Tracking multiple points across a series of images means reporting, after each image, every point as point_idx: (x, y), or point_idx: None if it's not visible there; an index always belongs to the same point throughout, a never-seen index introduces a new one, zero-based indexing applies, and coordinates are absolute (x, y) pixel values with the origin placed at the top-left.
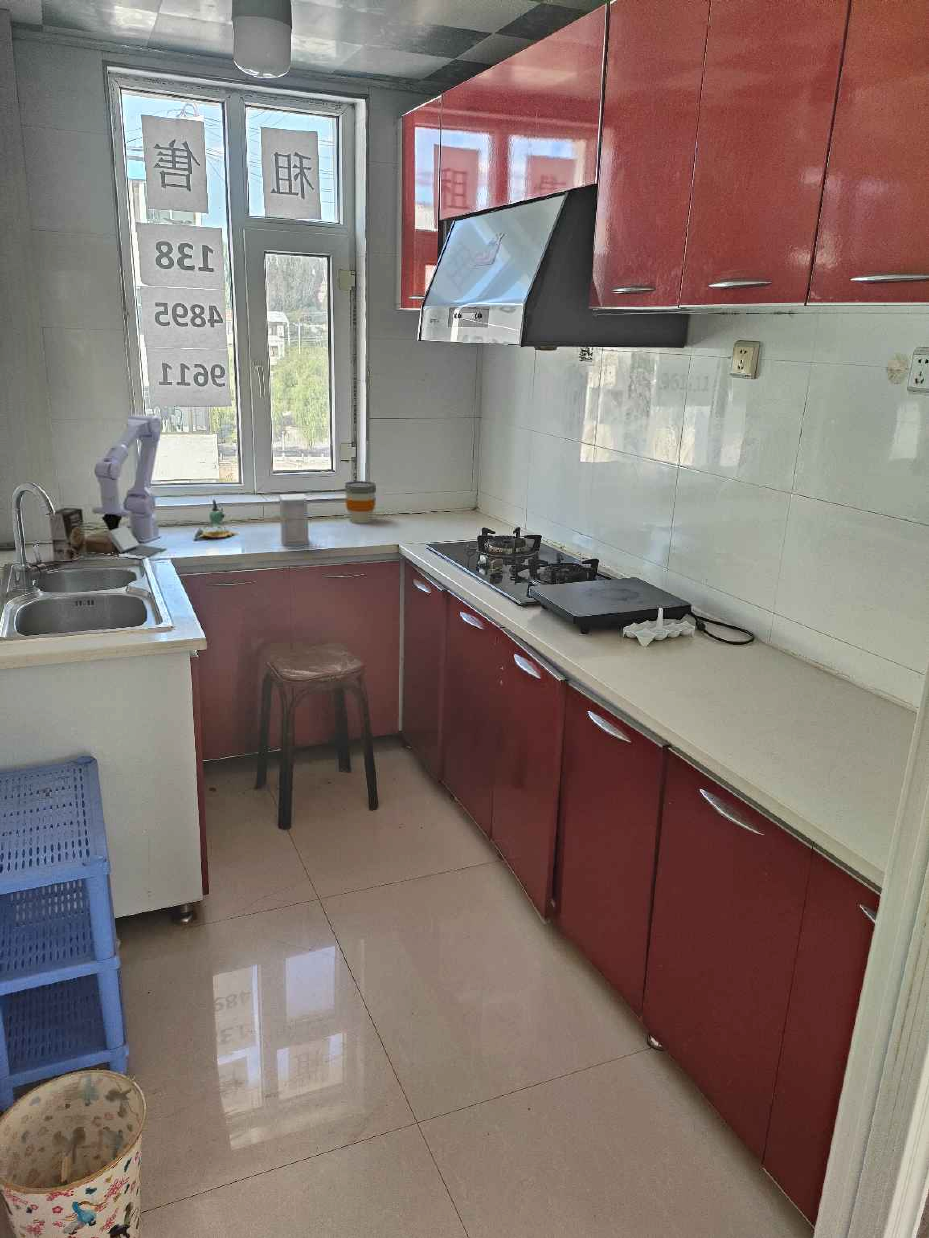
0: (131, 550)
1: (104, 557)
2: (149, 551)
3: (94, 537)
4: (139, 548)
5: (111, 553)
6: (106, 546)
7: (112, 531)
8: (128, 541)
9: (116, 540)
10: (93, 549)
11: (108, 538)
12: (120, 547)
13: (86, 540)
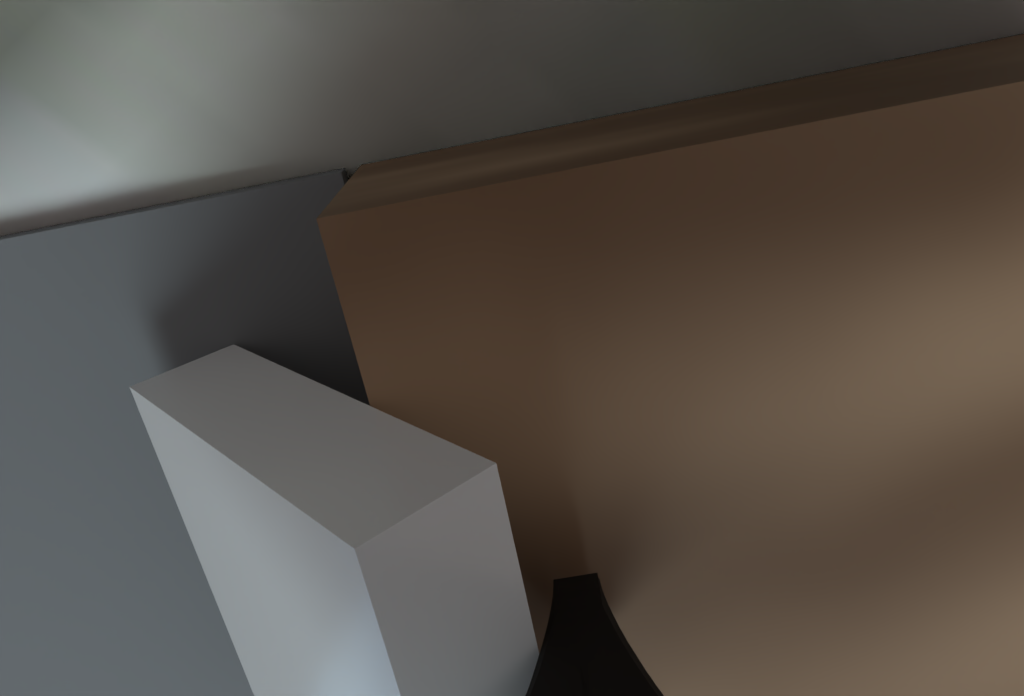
0: None
1: (273, 27)
2: (12, 642)
3: (969, 411)
4: None
5: None
6: (333, 202)
7: (351, 593)
8: (256, 633)
9: (226, 443)
10: (683, 114)
11: (649, 520)
12: (191, 391)
13: (945, 128)
